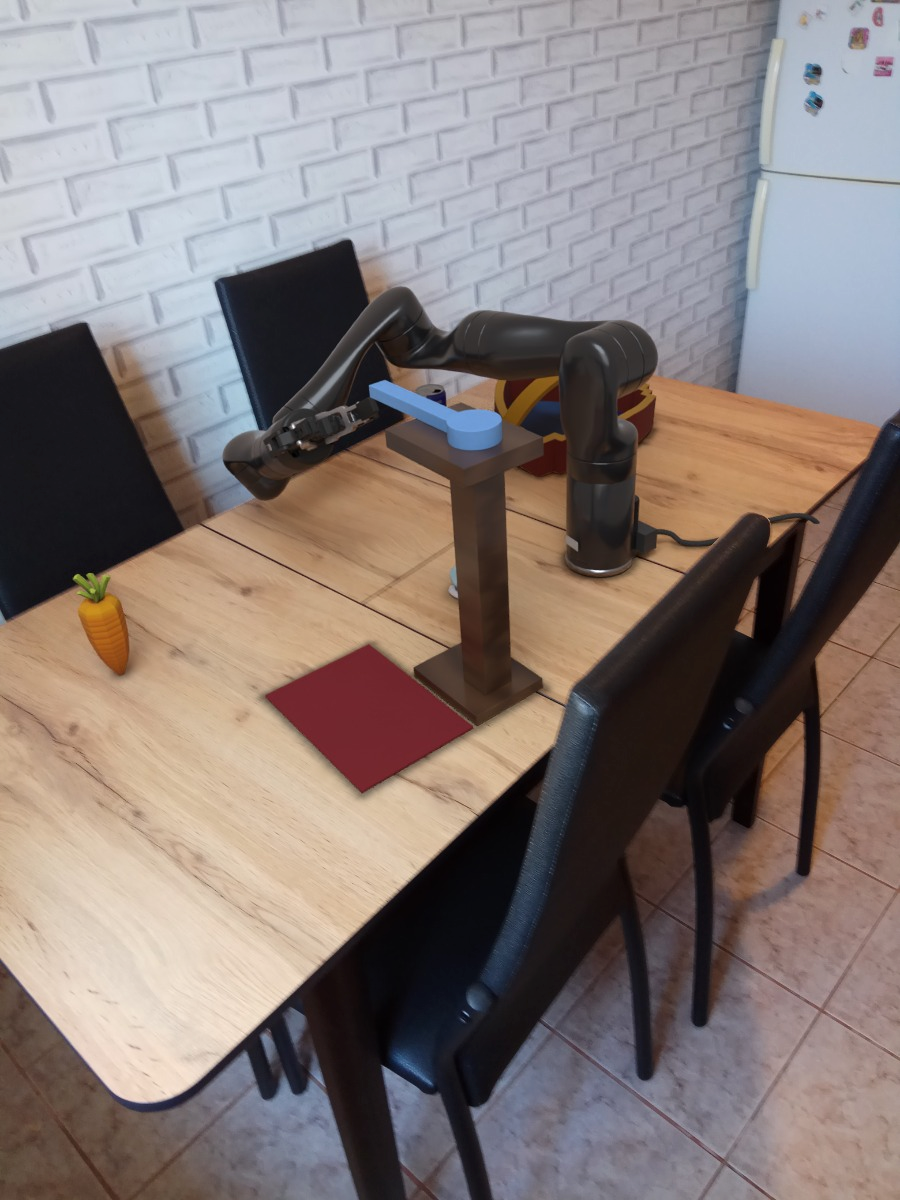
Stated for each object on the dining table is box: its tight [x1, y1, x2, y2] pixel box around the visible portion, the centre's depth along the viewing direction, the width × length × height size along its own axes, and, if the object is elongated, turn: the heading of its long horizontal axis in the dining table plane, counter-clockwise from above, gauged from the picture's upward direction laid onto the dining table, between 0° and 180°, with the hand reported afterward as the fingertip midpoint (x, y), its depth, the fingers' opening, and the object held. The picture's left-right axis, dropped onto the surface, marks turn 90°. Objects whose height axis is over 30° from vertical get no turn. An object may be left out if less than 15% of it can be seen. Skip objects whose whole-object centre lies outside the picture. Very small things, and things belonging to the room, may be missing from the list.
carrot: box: [72, 572, 130, 676], centre depth 112 cm, size 5×5×15 cm
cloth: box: [264, 643, 474, 794], centre depth 107 cm, size 15×21×1 cm
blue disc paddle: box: [368, 379, 502, 451], centre depth 96 cm, size 5×20×2 cm, turn 38°
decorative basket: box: [493, 376, 657, 478], centre depth 163 cm, size 34×29×15 cm
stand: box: [384, 402, 543, 727], centre depth 102 cm, size 10×13×32 cm
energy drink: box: [414, 383, 448, 407], centre depth 161 cm, size 5×5×12 cm
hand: (344, 415), depth 111 cm, fingers open, 8 cm apart
